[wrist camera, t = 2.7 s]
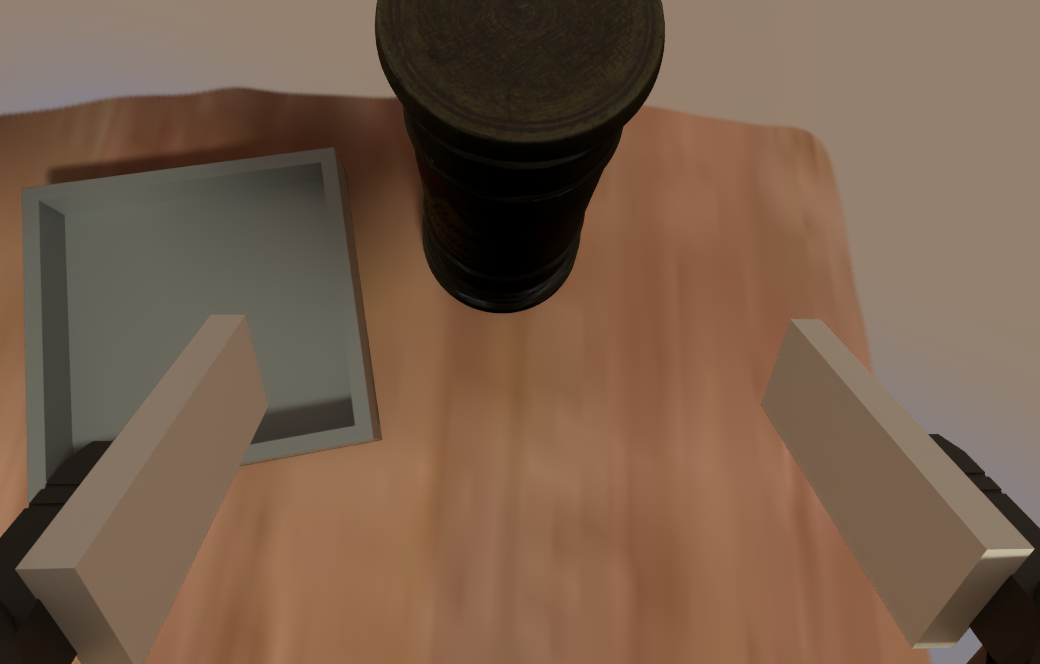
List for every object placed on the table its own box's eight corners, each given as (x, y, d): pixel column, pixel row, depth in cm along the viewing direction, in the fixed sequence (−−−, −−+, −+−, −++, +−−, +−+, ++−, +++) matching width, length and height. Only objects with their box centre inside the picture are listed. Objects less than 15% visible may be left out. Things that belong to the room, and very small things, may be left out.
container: (475, 144, 35) (470, -171, 17) (603, 219, 34) (731, -26, 17) (392, 263, 33) (292, 46, 15) (526, 344, 33) (580, 216, 15)
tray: (65, 498, 29) (27, 502, 27) (56, 208, 32) (21, 188, 30) (381, 439, 31) (373, 438, 28) (344, 169, 34) (333, 146, 32)
